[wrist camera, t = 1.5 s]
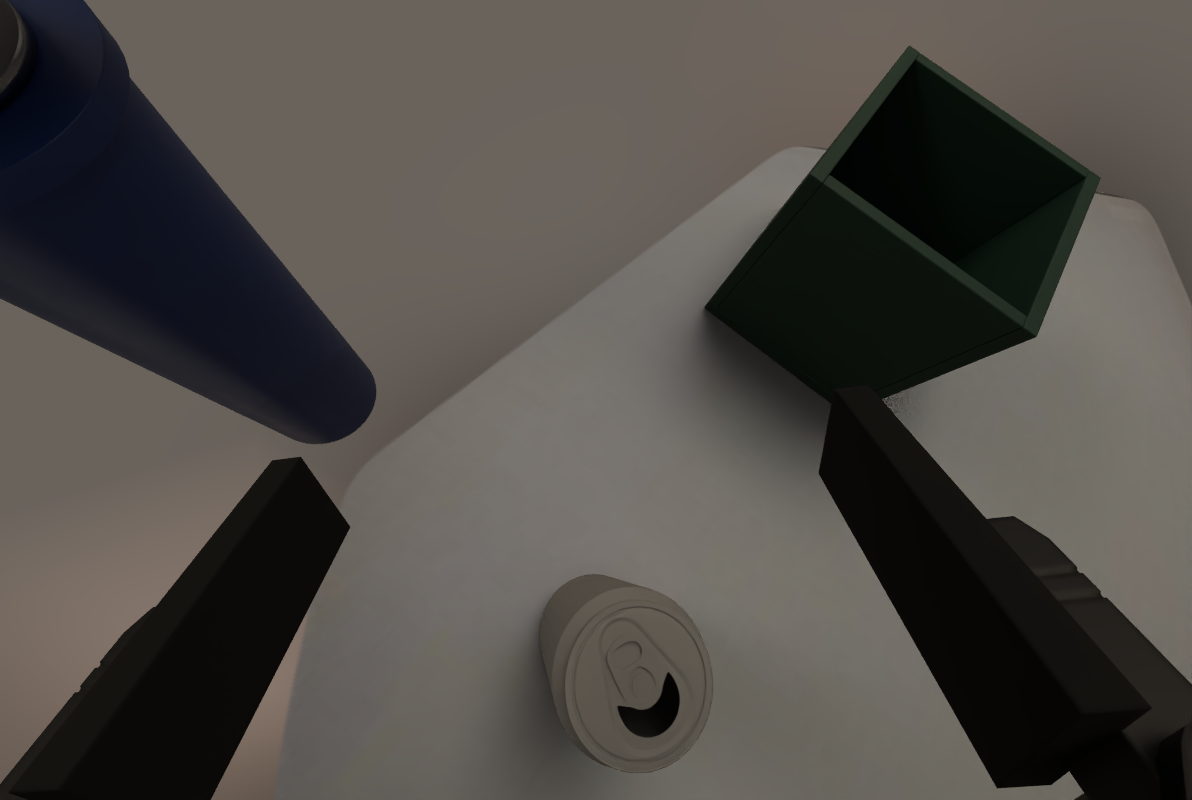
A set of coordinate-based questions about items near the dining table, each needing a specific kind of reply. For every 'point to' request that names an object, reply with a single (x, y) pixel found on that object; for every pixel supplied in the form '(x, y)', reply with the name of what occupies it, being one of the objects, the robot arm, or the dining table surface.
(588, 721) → the beverage can
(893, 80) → the waste bin
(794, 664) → the dining table surface
